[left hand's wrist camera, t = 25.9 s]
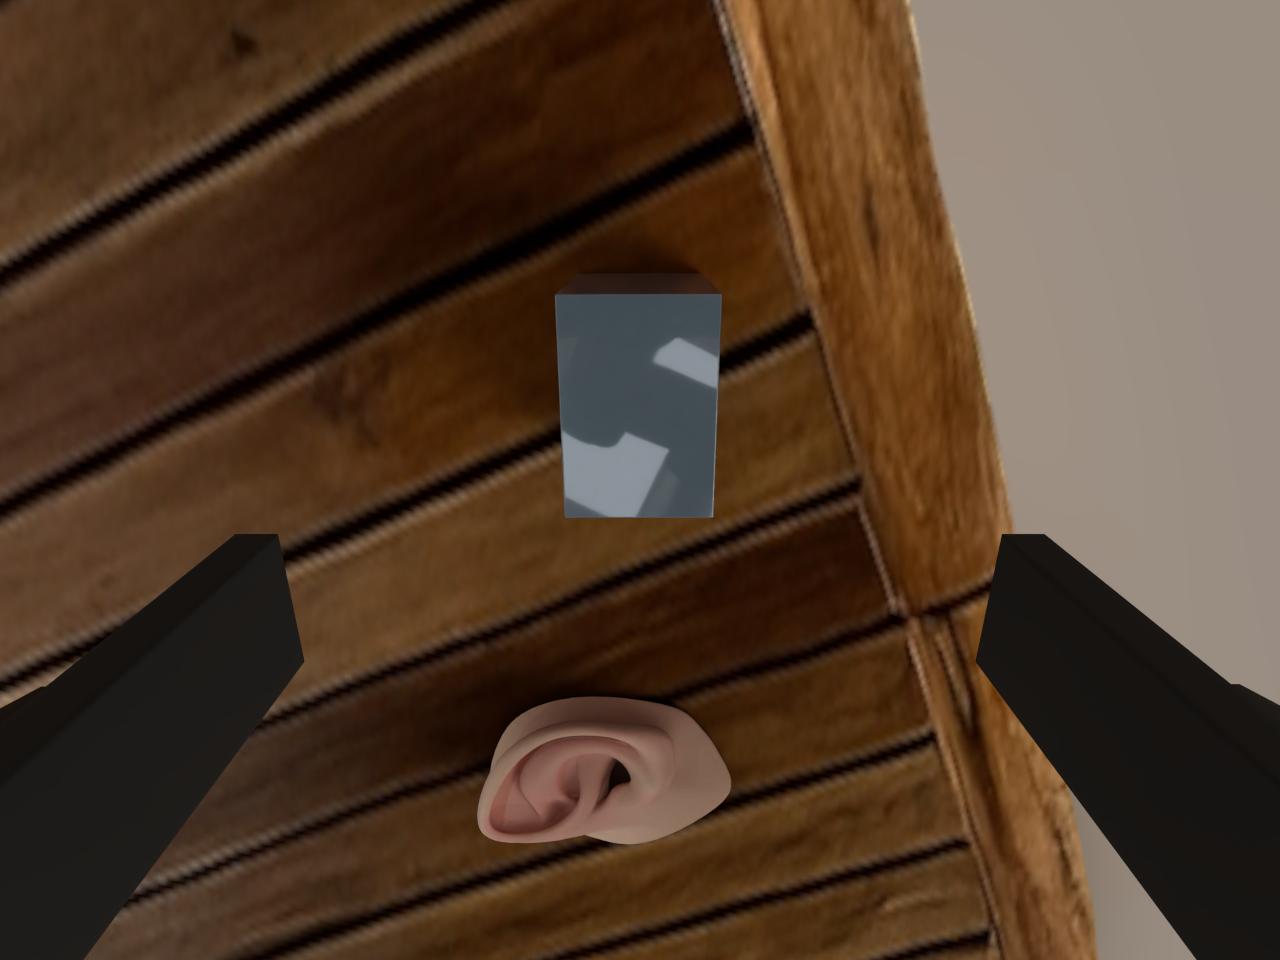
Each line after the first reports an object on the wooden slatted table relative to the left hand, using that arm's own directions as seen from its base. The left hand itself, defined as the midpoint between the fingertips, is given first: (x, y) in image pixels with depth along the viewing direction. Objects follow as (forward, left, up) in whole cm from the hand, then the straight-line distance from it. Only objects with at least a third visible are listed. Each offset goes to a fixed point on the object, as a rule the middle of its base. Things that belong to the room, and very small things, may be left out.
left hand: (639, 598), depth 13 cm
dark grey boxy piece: (0, 0, -21) cm, 21 cm away
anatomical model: (-12, -21, -21) cm, 32 cm away
